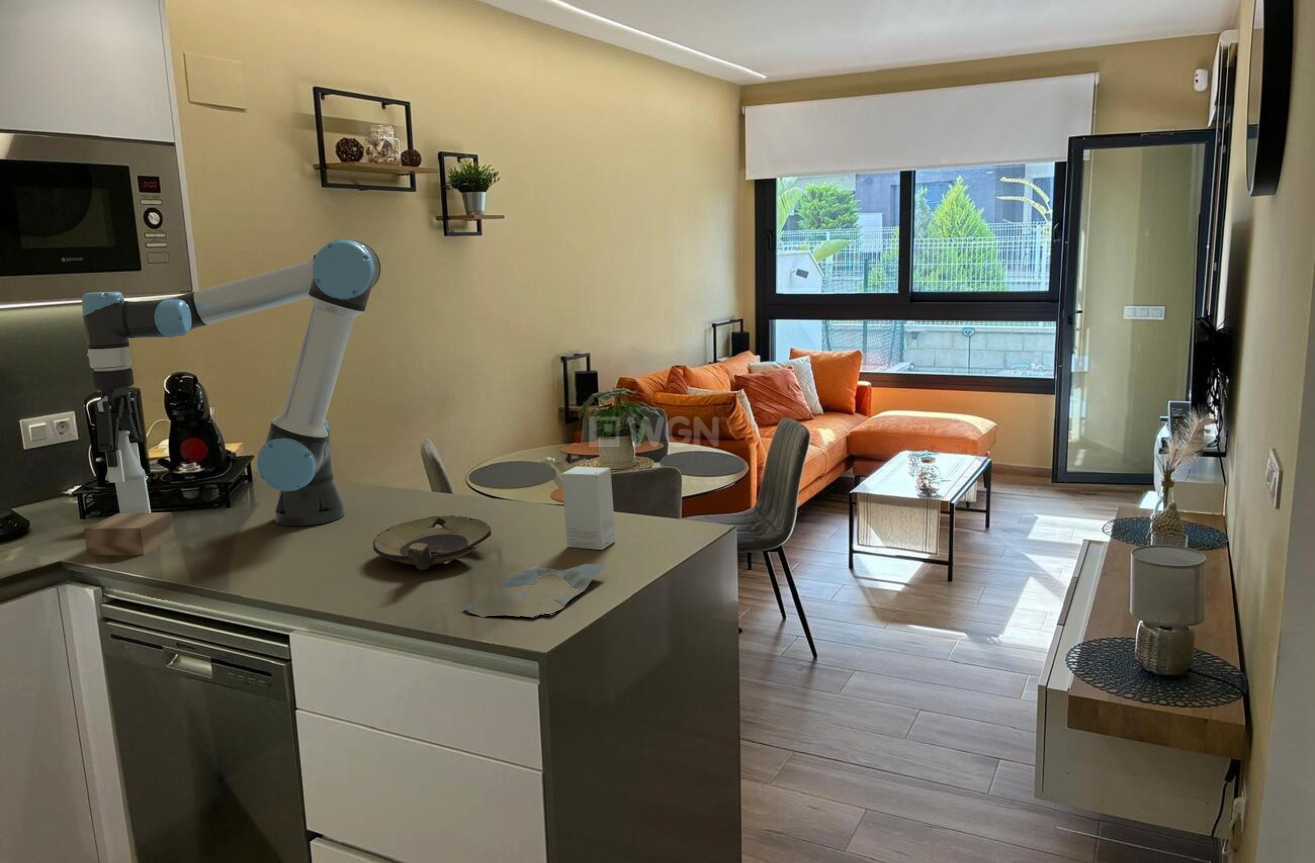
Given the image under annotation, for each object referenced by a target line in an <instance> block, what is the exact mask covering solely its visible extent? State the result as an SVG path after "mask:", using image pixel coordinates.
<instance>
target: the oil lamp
mask: <svg viewBox="0 0 1315 863" xmlns="http://www.w3.org/2000/svg"><path fill="white" fill-rule="evenodd" d="M436 525H439V526H441V527H436ZM491 536H492V529H491V527H490V525H488V523H487V522H486V521H484V520H481V519H478V518H472V517H468V516H461V515H458V516H457V515H453V514H451V515H442V516H440V515H436V516H435V515H434V516H433V515H432V516H428V517H424V518H420V519H414V520H410V521H405V522H402V523H399V524H396V525H394V526H391V527H388V528H386V529H385V530H382V531H380V532H379V533H378V534H377V535H376V537H375V538H374V540H373V542H372V547H373V548H372V549H373V551H374V552H375V554H377V555H379V556H380V557H383V558H386V559H387V560H391V561H394V562H399V563H401V564H408V565H413V566H415V567H416V569H418V570H427V569H428V568H430V567H431V566H432V565H439V564H443V563H446V562H450V561H453V560H456V559H459V558H461V557H463V556H465V555H467V554H469V553H471V552H472V551H474V550H476V549H477V548H479V546H480V543H483V542H484V541H485V540H487V539H488V538H489V537H491Z"/></svg>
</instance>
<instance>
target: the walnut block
mask: <svg viewBox="0 0 1315 863" xmlns="http://www.w3.org/2000/svg"><path fill="white" fill-rule="evenodd" d="M83 534H84V539H85V540H84V541H85V549H86V555H115V556H145V555H147V554H149V553H150V552H149V551H151V550H152V551H154V550H156V549H158V548H159V547H158V546H160V545H161V546H163V545H165V544H167V543H168V542H167V541H169V540H170V541H172V540H174V539H176V532H175V526H174V517H173V511H170V512H169V511H168V512H166V511H163V512H161V511H160V512H151V513H120V512H118V513H115V514H113V515H111V516H109V517H107V518H104V519H102V520H101V521H98V522H95V523H94V524H92V525H91V524H90V526H86V527H85V528H83ZM173 538H174V539H173ZM171 539H172V540H171ZM170 541H169V542H170ZM166 542H167V543H166ZM164 543H165V544H164ZM162 544H163V545H162ZM161 546H160V547H161ZM157 547H158V548H157ZM155 548H156V549H155ZM153 549H154V550H153ZM152 551H151V552H152ZM148 552H149V553H148ZM146 553H147V554H146Z"/></svg>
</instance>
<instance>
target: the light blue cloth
mask: <svg viewBox="0 0 1315 863" xmlns="http://www.w3.org/2000/svg"><path fill="white" fill-rule="evenodd" d="M607 566H608V564H601V563H600V564H599V563H597V564H595V563H594V564H593V563H583V564H579V565H577V566H575V567H570V568H567V569H555V568H547V567H539V566H532V568H529V569H525V570H523V571H521V572H518V573H516V574H514V575H512V576H511V577H510V578H509V579H508V580H507V581H505V582H504V583H503V584H502V586H501V587H500V588H512V587H519V586H523V585H535V584H537V583H538V581H539V580H538V579H537V580H538V581H537V580H536V578H538V577H539V576H542V577H544V576H543V575H548V574H549V575H552V574H551V573H554V574H556V575H557V577H556V578H558V577H559V578H560V579H559V578H558V579H559V580H561V579H562V580H565V581H566V582H568V584H569V585H570V587H571V588H574V589H578V591H579V592H578V593H577V594H576V593H575V594H576V595H574V594H573V595H574V596H572V595H570V597H569V596H562V597H563V598H552V599H553V600H554V601H555V602H557V603H559V604H560V605H561V606H563V607H564V608H565V606H566V605H567V604H568V602H569V601H570V600H572V599H573V598H575V597H576V596H578V595H580V594H581V593H582V592H584V591H585V590H586V589H588V587H589V585H590V583H591V582H592V581H593V579H594V578H595V577H597V576H598V575H599V573H600V572H602V571H603V570H604V569H605V568H606V567H607ZM554 574H553V575H554ZM549 575H548V576H549ZM562 580H561V581H562ZM565 581H564V582H565ZM566 582H565V583H566ZM535 586H536V585H535ZM519 588H520V587H519ZM512 589H513V588H512ZM522 591H523V590H522ZM520 592H521V591H520ZM520 592H519V593H517V594H518V595H517V594H515V595H516V598H518V599H520V598H524V597H525V596H526V595H527V593H526V591H523V592H521V593H520ZM547 594H548V593H546V594H541V595H542V596H545V597H546V596H547V597H548V595H547ZM538 602H539V601H538ZM538 602H536V603H537V604H541V602H539V603H538ZM477 603H478V602H477V601H474V602H472V603H470V604H468V605H466V606H464V607H463V608H462V610H463V611H465V613H466V612H467V611H469V610H471V609H472V608H473V606H474V604H477ZM536 603H535V604H536ZM537 604H536V605H537ZM544 614H546V613H541V614H538V615H537V616H536V617H538V616H539V615H540V616H541V615H542V616H545V615H544ZM554 614H555V613H553V614H550V615H549V616H553V615H554ZM531 618H534V617H531Z"/></svg>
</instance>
